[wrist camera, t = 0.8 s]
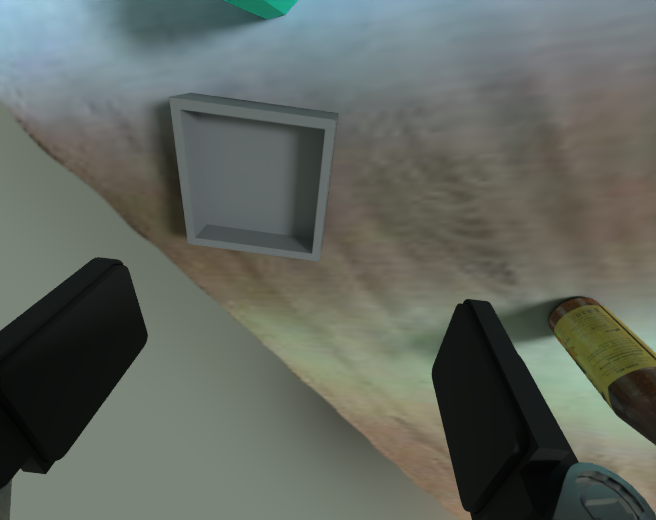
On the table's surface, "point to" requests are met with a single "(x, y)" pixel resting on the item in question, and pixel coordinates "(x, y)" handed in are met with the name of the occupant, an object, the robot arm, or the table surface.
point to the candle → (264, 7)
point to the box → (253, 174)
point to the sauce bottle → (610, 360)
